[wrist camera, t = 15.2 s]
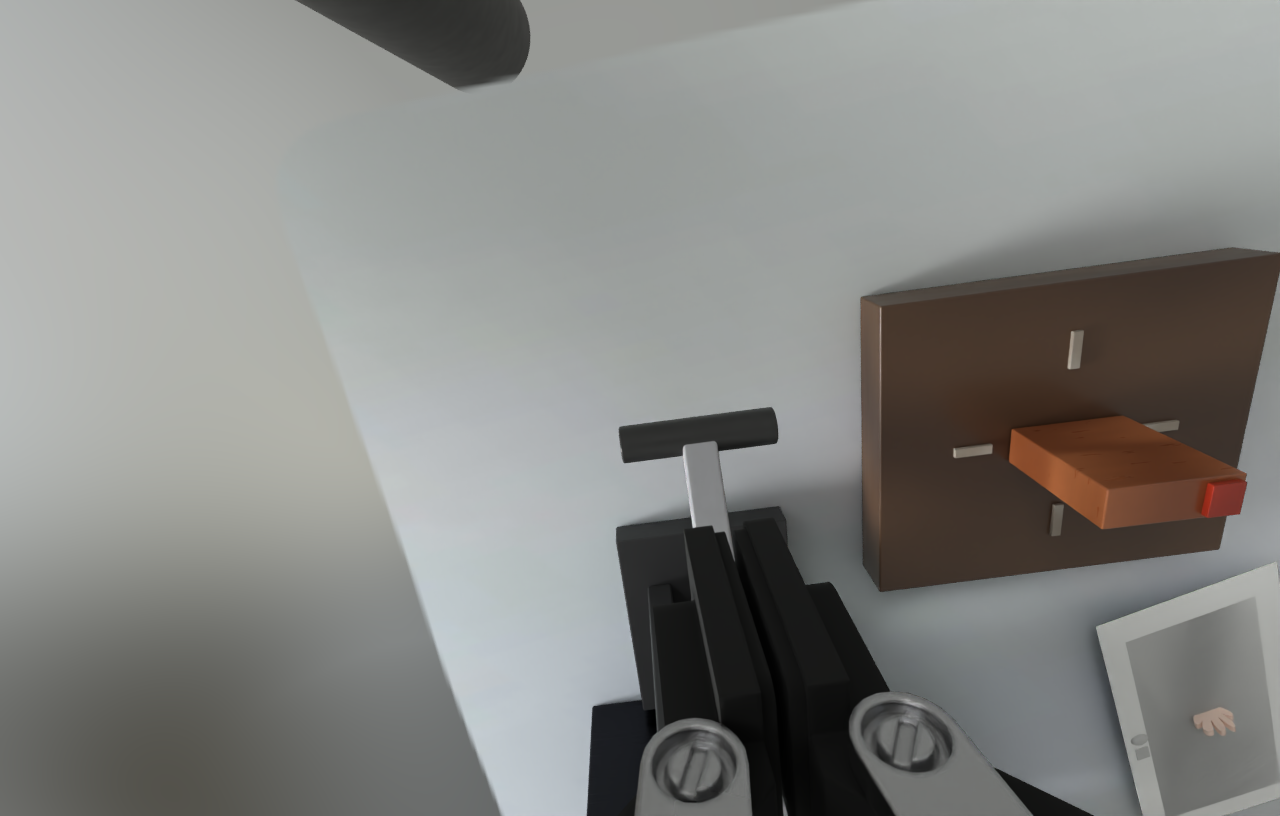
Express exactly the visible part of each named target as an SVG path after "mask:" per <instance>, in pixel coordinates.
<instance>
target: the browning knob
mask: <svg viewBox="0 0 1280 816" xmlns="http://www.w3.org/2000/svg"><path fill="white" fill-rule="evenodd" d="M1009 462H1010V463H1011V464H1013V465H1014V466H1015V467H1017V468H1018V469H1019V470H1021V471H1022V472H1024V473H1025V474H1026V475H1028V476H1029V477H1030V478H1032V479H1033V480H1035V481H1036V482H1037V483H1039V484H1040V485H1041V486H1043V487H1044V488H1046V489H1047V490H1048V491H1050V492H1051V493H1052V494H1054V495H1055V496H1057V497H1058V498H1059V499H1061V500H1062V501H1063V502H1065V503H1066V504H1068V505H1069V506H1070V507H1072V508H1073V509H1074V510H1076V511H1077V512H1079V513H1080V514H1081V515H1083V516H1084V517H1085V518H1087V519H1088V520H1090V521H1091V522H1092V523H1094V524H1095V525H1096V526H1098V527H1099V528H1101V529H1111V528H1119V527H1128V526H1136V525H1144V524H1153V523H1161V522H1169V521H1178V520H1186V519H1195V518H1203V517H1206V518H1212V517H1220V516H1229V515H1237V514H1240V512H1241V508H1242V503H1243V499H1244V495H1245V491H1246V486H1247V482H1246V481H1245V480H1246V476H1247V474H1246V473H1245V472H1243V471H1240V470H1238V469H1236V468H1234V467H1232V466H1230V465H1228V464H1226V463H1223V462H1221V461H1219V460H1217V459H1215V458H1213V457H1211V456H1208V455H1206V454H1204V453H1202V452H1200V451H1198V450H1196V449H1194V448H1191V447H1189V446H1187V445H1185V444H1183V443H1181V442H1179V441H1176V440H1174V439H1172V438H1170V437H1168V436H1166V435H1164V434H1162V433H1159V432H1157V431H1155V430H1153V429H1151V428H1149V427H1147V426H1145V425H1142V424H1140V423H1138V422H1136V421H1134V420H1132V419H1130V418H1127V417H1125V416H1114V417H1106V418H1098V419H1090V420H1081V421H1073V422H1065V423H1057V424H1049V425H1040V426H1032V427H1024V428H1016V429H1012V432H1011V443H1010V454H1009Z"/></svg>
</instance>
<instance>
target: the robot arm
mask: <svg viewBox="0 0 1280 816" xmlns="http://www.w3.org/2000/svg"><path fill="white" fill-rule="evenodd" d="M683 531H684V541H685V549H686V558H687V566H688V575H689V583H690V591H691V600H692V601H685V602H678V603H671V604H663V605H656V606H653V614H654V624H655V634H656V643H657V653H658V663H659V673H660V683H661V693H662V703H663V713H664V723H665V727H663V728H662V729H661V730H660V731H658V732H657V733H656V734H655V735H653V737H652V738H651V740H650V741H649V743H648V744H647V745H646V747H645V749H644V752H643V755H642V759H641V762H640V771H639V780H638V789H637V794H636V795H635V796H634V797H633V799H632V800H631V801H630V802H629V803H628V804H627V805H626V806H625V808H624V809H623V810H622V811H621V812H620V813H619V814H618V815H617V816H784V814H783V800H784V803H785V807H786V811H787V814H788V816H1094V815H1092V814H1089V813H1087V812H1085V811H1083V810H1081V809H1079V808H1077V807H1075V806H1073V805H1071V804H1069V803H1067V802H1065V801H1063V800H1061V799H1058V798H1056V797H1054V796H1052V795H1050V794H1048V793H1046V792H1044V791H1042V790H1040V789H1038V788H1036V787H1034V786H1032V785H1030V784H1027V783H1025V782H1023V781H1021V780H1019V779H1017V778H1015V777H1013V776H1011V775H1009V774H1007V773H1005V772H1003V771H1001V770H999V769H996V768H994V767H993V766H992V765H991V764H990V763H989V761H988V760H987V759H986V758H985V757H984V755H983V754H982V753H981V752H980V751H979V749H978V748H977V747H976V746H975V744H974V743H973V742H972V741H971V740H970V738H969V737H968V736H967V735H966V734H965V732H964V731H963V730H962V729H961V727H960V726H959V725H958V724H957V723H956V721H955V720H954V719H953V718H952V717H951V716H949V715H948V714H947V713H946V712H945V711H944V710H943V709H942V708H941V707H939V706H937V705H936V704H934V703H932V702H930V701H929V700H927V699H925V698H922V697H919V696H916V695H913V694H910V693H903V692H894V691H890V690H889V688H888V686H887V684H886V682H885V681H884V679H883V677H882V675H881V673H880V671H879V669H878V667H877V666H876V664H875V662H874V660H873V658H872V656H871V654H870V653H869V651H868V649H867V647H866V645H865V643H864V641H863V639H862V638H861V636H860V634H859V632H858V630H857V628H856V626H855V625H854V623H853V621H852V619H851V617H850V615H849V613H848V611H847V610H846V608H845V606H844V604H843V602H842V600H841V598H840V597H839V595H838V593H837V591H836V589H835V588H834V586H833V585H832V584H831V583H830V582H825V583H818V584H811V585H805V583H804V581H803V579H802V577H801V575H800V572H799V570H798V568H797V566H796V564H795V562H794V560H793V557H792V555H791V553H790V551H789V549H788V547H787V545H786V543H785V540H784V538H783V536H782V534H781V532H780V530H779V528H778V526H777V523H776V521H775V519H774V518H773V517H768V518H761V519H753V520H746V521H743V529H738V530H734V531H733V539H734V551H735V561H734V558H733V555H732V552H731V549H730V545H729V542H728V539H727V536H726V533H725V531H723V532H716V533H715V532H714V529H713V526H712V525H709V526H702V527H695V528H687V529H683ZM735 563H736V564H735ZM782 796H783V798H782Z"/></svg>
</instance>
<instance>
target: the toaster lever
mask: <svg viewBox="0 0 1280 816" xmlns="http://www.w3.org/2000/svg"><path fill="white" fill-rule="evenodd" d="M619 439H620V448H621V454H622V460H623V462H624V463H631V462H639V461H647V460H654V459H662V458H670V457H678V456H683V462H684V469H685V476H686V483H687V490H688V497H689V505H690V512H691V519H692V526H693V528H695V527H702V526H709V525H712V526H713V529H714V532H715V533H716V532H723V531H725V533H726V536H727V539H728V542H729V545H730V549H731V552H732V555H733V558H734V552H733V545H732V539H731V532H730V525H729V519H728V512H727V505H726V499H725V492H724V486H723V479H722V472H721V466H720V459H719V453H718V451H724V450H732V449H739V448H747V447H755V446H762V445H770V444H776V443H777V441H778V425H777V420H776V415H775V412H774V410H773V408H772V407H767V408H759V409H752V410H744V411H736V412H729V413H721V414H713V415H706V416H698V417H690V418H683V419H675V420H667V421H660V422H652V423H644V424H637V425H629V426H621V427H619ZM734 561H735V558H734ZM782 798H783V796H782ZM783 814H784V816H788V814H787V811H786V807H785V803H784V800H783Z"/></svg>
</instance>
